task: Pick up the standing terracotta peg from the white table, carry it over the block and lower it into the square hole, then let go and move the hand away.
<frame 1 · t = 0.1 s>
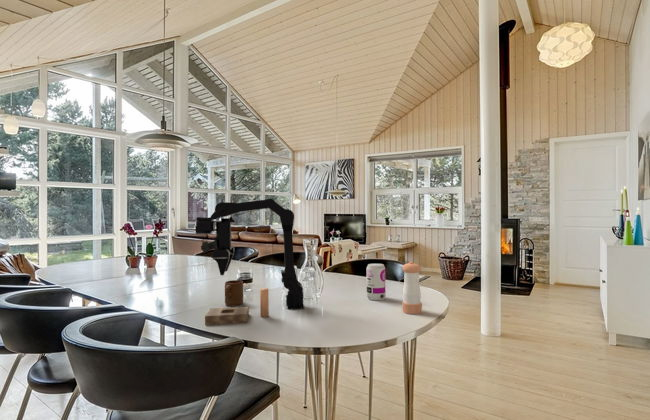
hand: (223, 273, 141), 15 cm above the table, tool pointing down, fingers open, 9 cm apart
hole block: (227, 319, 129), on the table
peg: (264, 316, 133), on the table
supplement can: (376, 299, 158), on the table
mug: (232, 305, 149), on the table
pepper shaker: (412, 311, 137), on the table
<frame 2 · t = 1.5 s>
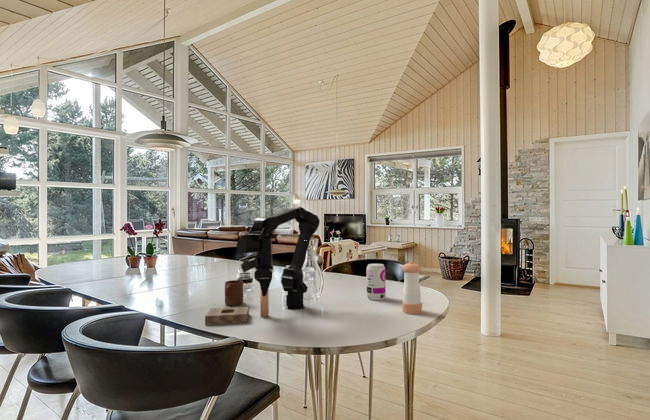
hand: (264, 293, 133), 9 cm above the table, tool pointing down, fingers open, 9 cm apart
nothing on the table moved.
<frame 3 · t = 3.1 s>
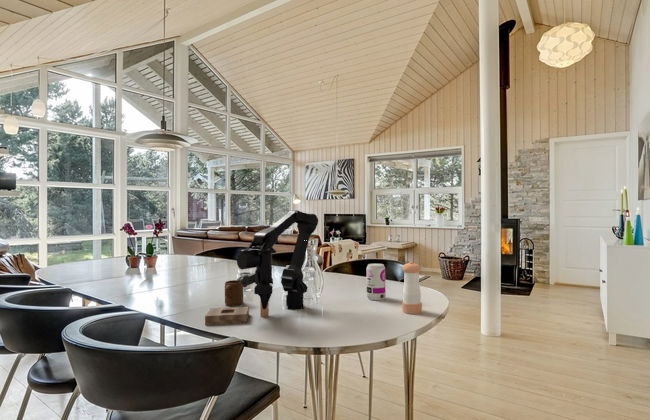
hand: (264, 308, 133), 3 cm above the table, tool pointing down, fingers closed on peg, 3 cm apart
peg: (264, 316, 133), on the table, touching gripper
everything else where it was.
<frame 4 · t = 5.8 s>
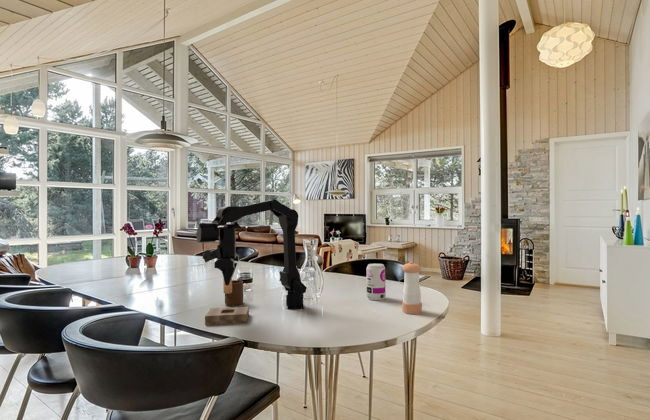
hand: (227, 284, 129), 13 cm above the table, tool pointing down, fingers closed on peg, 3 cm apart
peg: (227, 292, 129), point 10 cm above the table, touching gripper
everything else where it was.
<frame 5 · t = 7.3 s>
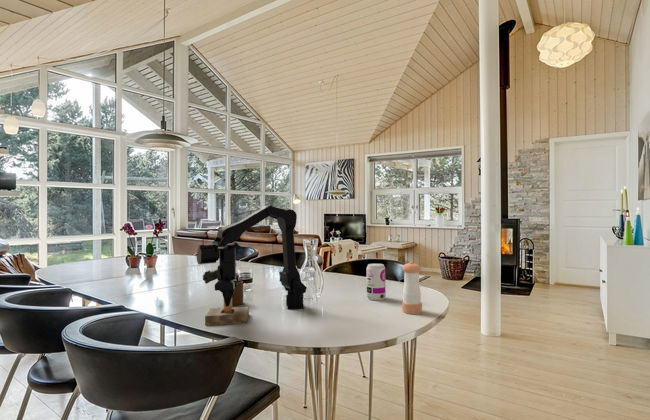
hand: (228, 304, 129), 5 cm above the table, tool pointing down, fingers closed on peg, 3 cm apart
peg: (228, 313, 129), point 2 cm above the table, touching gripper
everything else where it was.
when the fingers open (4 cm above the table, at t = 8.6 s): peg drops 1 cm, resting in hole block.
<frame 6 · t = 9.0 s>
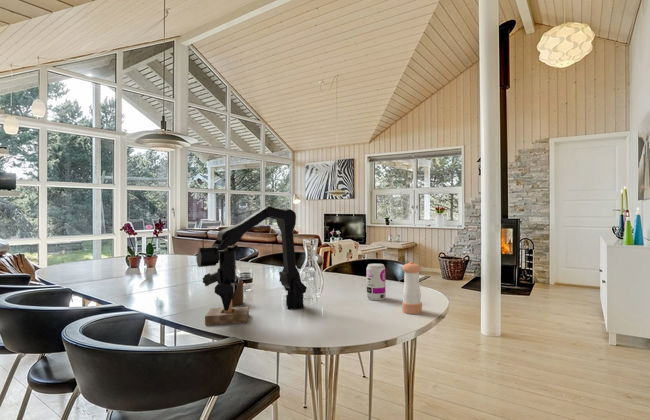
hand: (227, 307, 129), 4 cm above the table, tool pointing down, fingers open, 8 cm apart
peg: (228, 319, 129), resting in hole block
everything else where it was.
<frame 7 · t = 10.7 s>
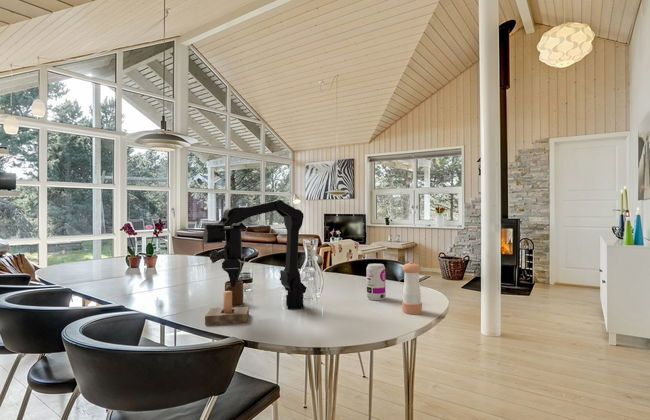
hand: (234, 284, 131), 12 cm above the table, tool pointing down, fingers open, 9 cm apart
nothing on the table moved.
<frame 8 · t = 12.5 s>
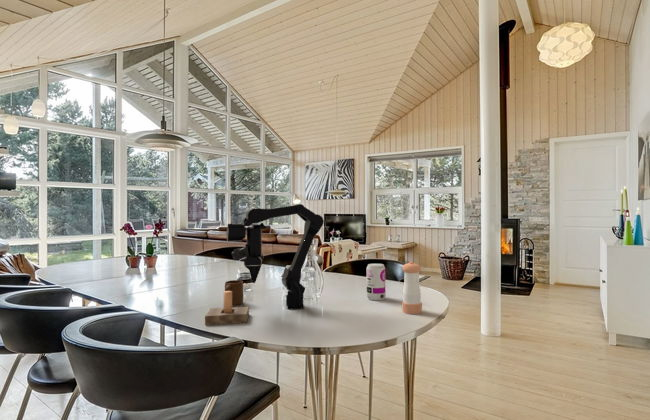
hand: (254, 280, 139), 12 cm above the table, tool pointing down, fingers open, 9 cm apart
nothing on the table moved.
at the end: peg 0.0 cm off-centre on the hole block, point 0.0 cm above the hole block's base; peg tilted 0°; the gripper is holding nothing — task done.
